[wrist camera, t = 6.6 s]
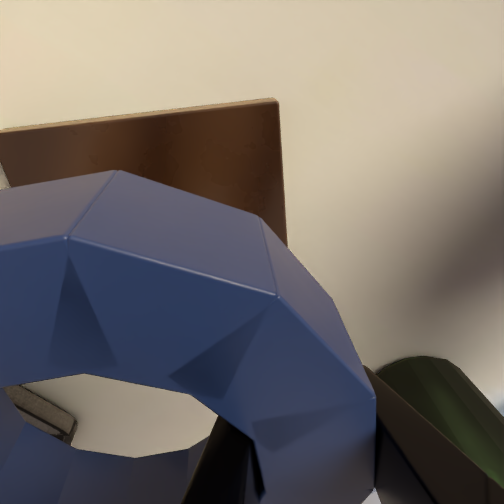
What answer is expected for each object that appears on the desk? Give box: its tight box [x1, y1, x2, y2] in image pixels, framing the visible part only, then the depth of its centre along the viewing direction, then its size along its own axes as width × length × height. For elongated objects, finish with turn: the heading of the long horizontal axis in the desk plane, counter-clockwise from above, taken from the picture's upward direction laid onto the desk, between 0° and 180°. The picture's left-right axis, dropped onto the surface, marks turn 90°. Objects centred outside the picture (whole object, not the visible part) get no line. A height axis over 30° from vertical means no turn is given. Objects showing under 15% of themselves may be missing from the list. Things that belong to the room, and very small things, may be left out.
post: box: [0, 98, 288, 248], centre depth 15 cm, size 11×11×8 cm
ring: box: [0, 170, 376, 504], centre depth 9 cm, size 11×11×3 cm
